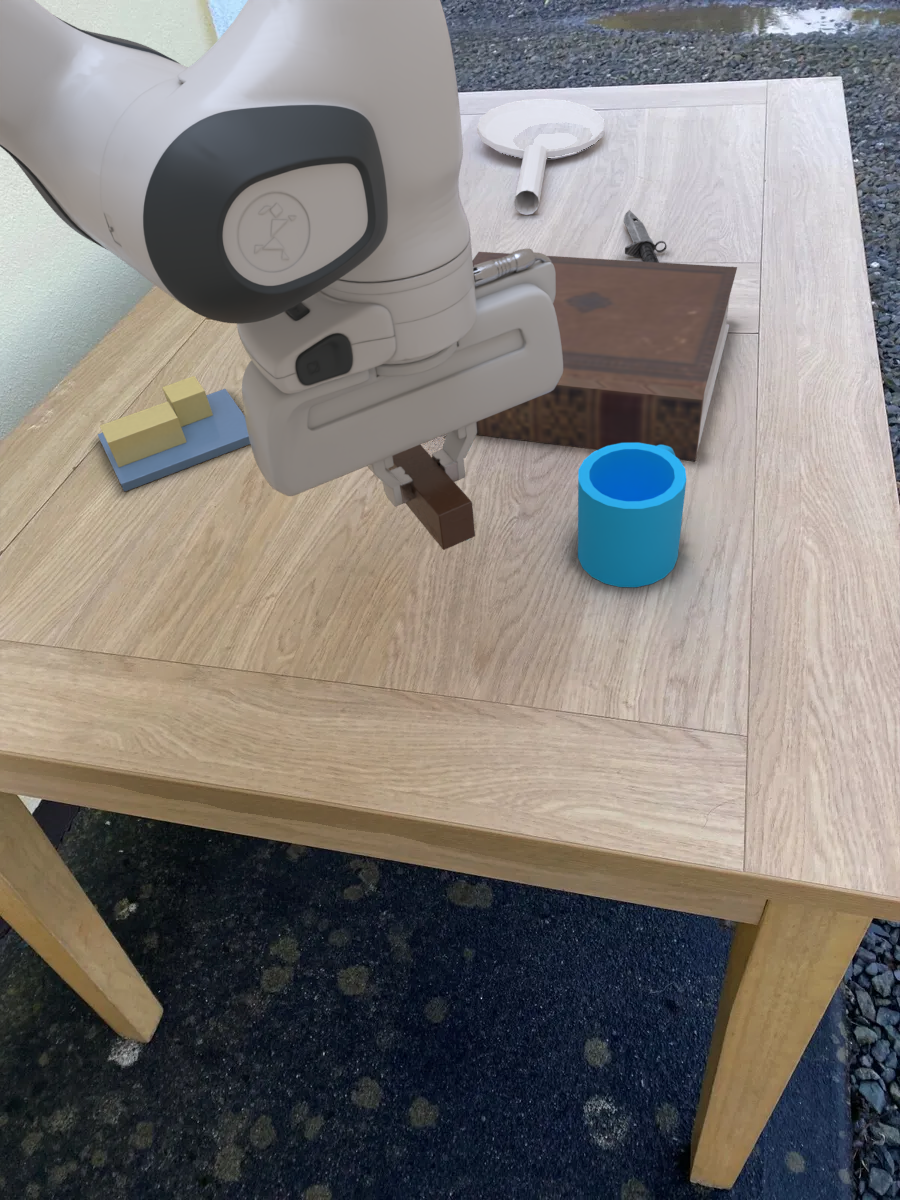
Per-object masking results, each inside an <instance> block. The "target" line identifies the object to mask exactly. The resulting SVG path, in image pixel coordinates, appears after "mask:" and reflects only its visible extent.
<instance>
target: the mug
mask: <svg viewBox="0 0 900 1200" xmlns="http://www.w3.org/2000/svg"><path fill="white" fill-rule="evenodd" d="M577 473H578V475H577V483H578V484H577V559H578V561H579V563H580V565H581V568H582V569H583V570H584V571H585V572H586V573H587V575H589V576H590V577H591V578H594V579H595V580H597V581H599V582H601V583H602V584H604V585H605V584H606V585H610V586H613V587H618V588H640V587H644V586H648V585H649V586H650V585H654V583H657V582H659V581H660V580H662V579H665V578H666V577H667V576H668V575H669V574H670V573H671V572H672V571H673V570H674V569H675V566H676V563H677V561H678V559H679V551H680V550H679V549H680V540H681V533H682V531H681V530H682V523H683V514H684V506H685V505H684V504H685V496H686V487H687V472H686V468H685V466H684V464H683V462H682V460H681V459H678V458H677V457H676V456H675V453H674V451H673V449H672V448H671V447H669V446H666V445H657V446H655V445H649V444H644V443H619V444H614V445H609V446H606V447H603V448H601V449H596V450H595V451H594V450H593V452H591V453H590V454H589V455H588V456H586V457H585V458H584V459H583V460H582V462H581V464H580V466H579V467H578V472H577Z"/></svg>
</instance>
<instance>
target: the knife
mask: <svg viewBox="0 0 900 1200" xmlns="http://www.w3.org/2000/svg"><path fill="white" fill-rule="evenodd" d="M623 222H624V224H625V227H626V229H627V232H628V234H629V236H630V239H631V241H632V243H631V244H629V245H627V246H625V247H624V254H625V255H627V256H630V257H635V258H642V262H659V263H660V260H659V259H658V256H657V254H656V252H657V253H663V252H665V251H666V250H667V246H668V245H667V243H666V242H665V241H664V240H659V241H657V242H656V243H654V242H653V240H652V238H651V237H650V235H649V233H648V231H647V228H646V226H645V225H644V222H642V221H641V219H639V217H637V216H636V215H635V214H634V213H633V212H632V211H631V209H629V210H627V211H626V212H625V214H624V216H623ZM660 244H664V247H663V248H661V249H657V246H658V245H660Z"/></svg>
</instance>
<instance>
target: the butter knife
mask: <svg viewBox="0 0 900 1200" xmlns="http://www.w3.org/2000/svg"><path fill="white" fill-rule="evenodd" d="M392 457H393V463H394V465H393V467H391V468H389V470H393V469H395V468H398V467H400V466H401V467H402V468H403V469H404V471H405V473H406V474H407V475H409V476H410V477H411V479H412V480H413V484H414V485H413V492H414V495H415V498H414V499H413V500H410V501H408V502H406V503H405V504H406V505H405V506H407V507H408V508H409V510H410V511H411V512H412V513H413V514H414V516H415V517H416V518H417V520H418V521H419V522H420V523H421V525H422V526H423V527H424V528H425V529H426V531H427V532H428V533H429V534H430V536H431V537H432V538H433V539H434V540H435V542H436V543H437V544H438V545H439V547H440V548H441V550H443V551H445V550H448V549H450V548H452V547H455V546H457V545H458V544H461V543H464V542H465V541H467V540H470V539H473V538H475V537H476V531H475V530H476V529H475V519H474V510H473V509H474V508H473V501H472V500H471V499H470V498H469V497H468V495H467V494H466V493H465V492H464V491H463V490H462V489H461V488H460V487H459V486H458V484H457V483H456V481H455V482H454V481H453V480H452V479H451V478H450V477H449V476H448V475H447V474H446V472H445V471H444V470H443V469H442V468H441V467H440V466H439V465H438V464H437V463H436V462H435V460H434V459H433V458H432V455H430V453H429V452H428V451H427V450H426V449H425V448H424V447H423V446H422V444H420V445H418V446H415V447H413V448H410V449H408V450H406V451H403V452H401V453H398V454H396V455H393V456H392Z"/></svg>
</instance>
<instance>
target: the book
mask: <svg viewBox="0 0 900 1200" xmlns="http://www.w3.org/2000/svg"><path fill="white" fill-rule="evenodd" d="M509 254H510V253H509V252H490V251H478V252H477V253H476V255H475V256H474V258H472V260H473V266H474V265H477V264H480V263H483V262H486V261H490V260H496V259H500V258H503V257H506V256H508V255H509ZM546 256H547V257H548V258H549V259H550V260H551V262H552V264H553V265H554V268H555V274H556V295H555V299H554V303H553V306H554V308H555V312H556V317H557V321H558V327H559V332H560V339H561V346H562V355H563V374H562V376H561V378H560V380H559V382H558V383H557V385H556V387H555V388H554V390H553V391H551V392H549V393H547V394H544V395H542V396H539V397H537V398H534V399H532V400H529V401H527V402H524V403H522V404H519V405H517V406H514V407H512V408H509V409H507V410H504V411H502V412H500V413H497V414H495V415H492V416H490V417H487V418H485V419H482V420H480V421H477V422H476V425H477V434H476V436H487V437H493V438H502V439H511V440H518V441H519V440H520V441H527V442H535V443H541V444H551V445H559V446H568V447H577V448H585V449H592V450H599V449H601V448H603V447H606V446H609V445H614V444H619V443H644V444H649V445H655V446H657V445H666V446H669V447H671V448H672V449H673V451H674V453H675V456H676V457H677V458H678V459H679V460H680V461H690V462H696V461H697V460H696V459H697V456H698V452H699V448H700V444H701V440H702V436H703V432H704V428H705V425H706V419H707V416H708V412H709V408H710V404H711V400H712V396H713V393H714V389H715V385H716V381H717V376H718V372H719V368H720V365H721V362H722V357H723V353H724V349H725V345H726V340H727V338H728V337H727V336H728V333H729V330H730V324H728V323H727V321H728V312H729V306H730V305H729V303H730V298H731V294H732V293H731V292H732V289H733V285H734V281H735V277H736V273H737V270H738V267H737V266H724V265H722V266H721V265H709V264H707V265H705V264H692V263H691V264H690V263H689V264H688V263H674V262H660V261H659V262H643V260H642V261H641V260H627V259H624V260H623V259H610V258H609V259H608V258H592V257H590V258H589V257H574V256H557V255H546ZM535 261H538V260H535Z"/></svg>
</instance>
